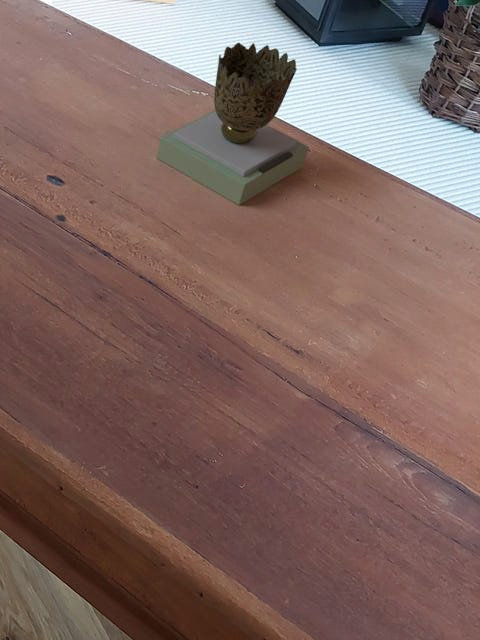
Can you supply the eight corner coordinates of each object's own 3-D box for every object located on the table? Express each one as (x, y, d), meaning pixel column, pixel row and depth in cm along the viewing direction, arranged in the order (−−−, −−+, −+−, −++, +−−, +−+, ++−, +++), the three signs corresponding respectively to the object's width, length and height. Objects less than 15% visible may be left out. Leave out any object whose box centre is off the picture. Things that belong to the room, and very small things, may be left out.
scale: (302, 167, 94) (311, 141, 92) (238, 205, 89) (246, 178, 87) (220, 124, 99) (227, 98, 97) (156, 158, 94) (161, 131, 92)
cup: (221, 110, 95) (240, 34, 89) (284, 134, 92) (309, 57, 86) (188, 138, 91) (206, 61, 85) (253, 164, 88) (277, 86, 82)
